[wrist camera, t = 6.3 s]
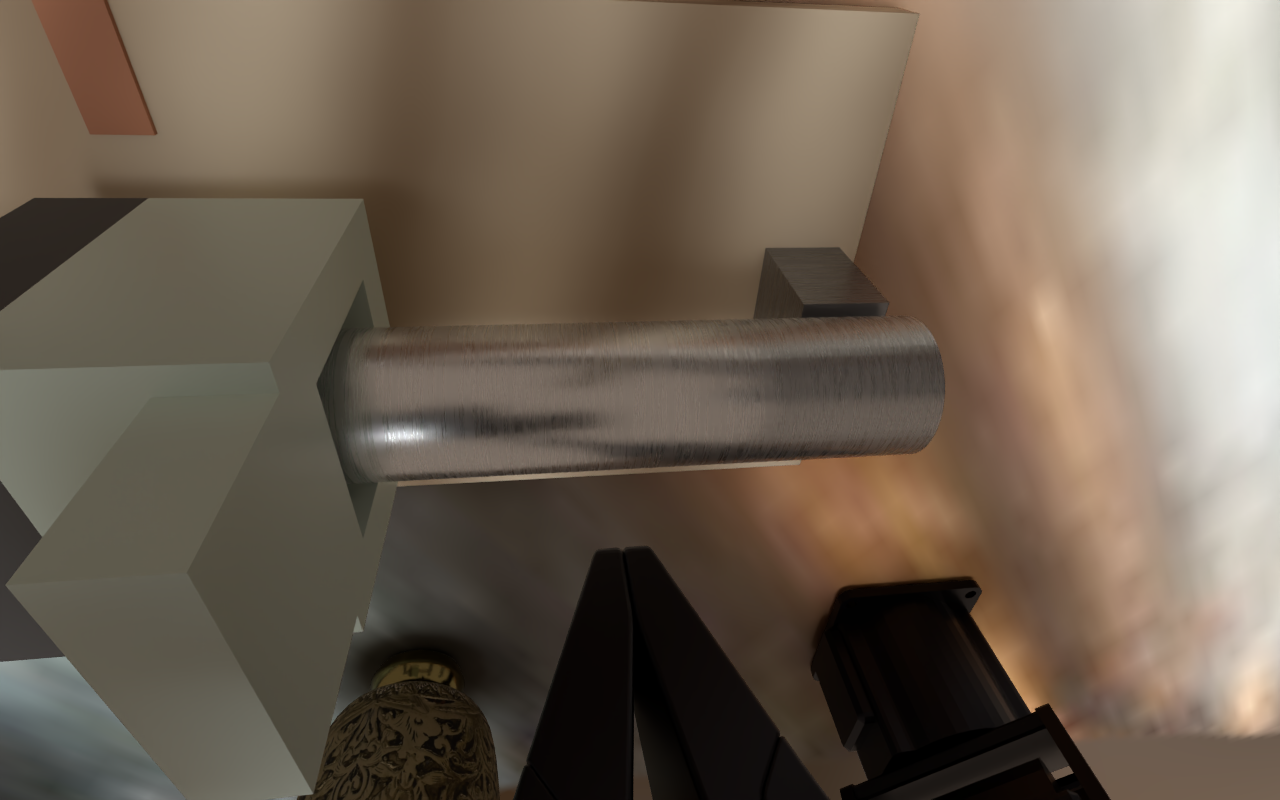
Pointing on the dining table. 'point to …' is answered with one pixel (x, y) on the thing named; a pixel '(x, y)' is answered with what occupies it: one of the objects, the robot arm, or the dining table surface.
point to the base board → (480, 138)
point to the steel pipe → (641, 386)
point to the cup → (410, 738)
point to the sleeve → (198, 479)
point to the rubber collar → (3, 270)
